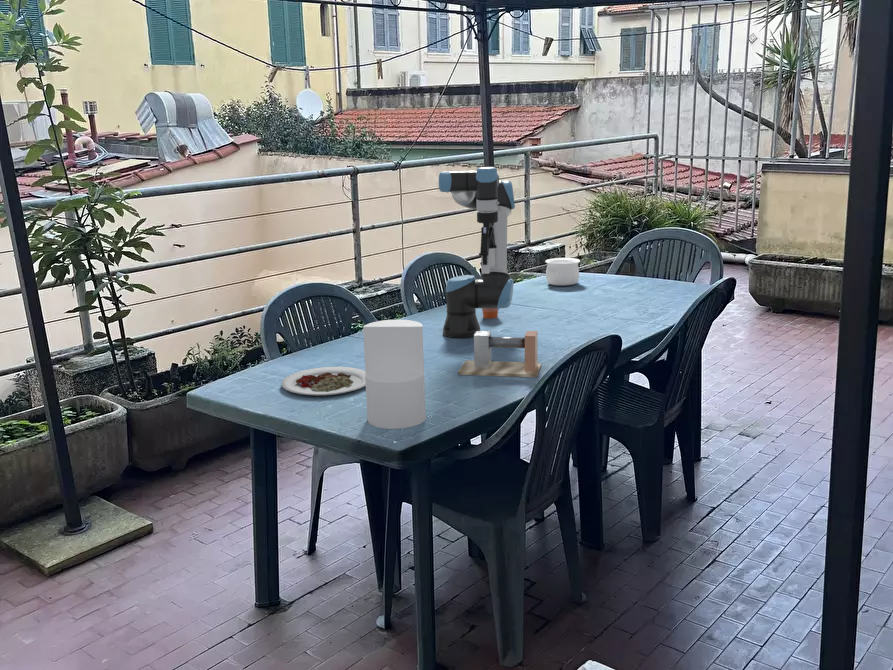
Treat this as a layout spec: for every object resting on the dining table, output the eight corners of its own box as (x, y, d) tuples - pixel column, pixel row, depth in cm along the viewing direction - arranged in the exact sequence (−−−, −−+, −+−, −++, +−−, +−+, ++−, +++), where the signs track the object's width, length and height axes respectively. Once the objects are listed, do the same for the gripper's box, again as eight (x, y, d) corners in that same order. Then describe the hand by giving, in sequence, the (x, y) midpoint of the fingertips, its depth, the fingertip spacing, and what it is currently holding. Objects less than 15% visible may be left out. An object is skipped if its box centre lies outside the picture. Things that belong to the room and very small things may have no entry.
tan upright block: (524, 371, 296) (524, 335, 293) (527, 365, 302) (527, 330, 299) (535, 371, 295) (535, 336, 292) (537, 365, 301) (537, 331, 298)
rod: (480, 348, 299) (480, 337, 298) (482, 345, 302) (482, 335, 301) (532, 349, 295) (532, 339, 294) (533, 346, 298) (533, 336, 297)
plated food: (380, 393, 281) (380, 383, 280) (287, 404, 273) (286, 394, 272) (362, 368, 309) (362, 359, 308) (277, 377, 301) (276, 368, 300)
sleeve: (474, 368, 300) (473, 335, 297) (477, 363, 305) (476, 330, 302) (488, 369, 299) (488, 335, 296) (491, 364, 304) (491, 331, 301)
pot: (565, 290, 428) (565, 265, 425) (536, 286, 439) (536, 262, 436) (588, 282, 445) (588, 259, 442) (559, 279, 455) (559, 256, 452)
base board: (458, 374, 297) (458, 371, 297) (465, 362, 311) (465, 360, 310) (536, 377, 292) (536, 374, 291) (541, 365, 305) (541, 362, 305)
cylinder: (373, 408, 266) (368, 319, 259) (429, 408, 264) (425, 319, 257) (362, 428, 249) (357, 334, 242) (422, 429, 248) (418, 334, 241)
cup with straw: (490, 320, 371) (489, 279, 366) (475, 317, 378) (474, 276, 373) (505, 317, 377) (504, 276, 372) (490, 313, 383) (489, 273, 379)
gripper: (492, 216, 298) (493, 276, 304) (502, 206, 321) (503, 263, 327) (471, 216, 299) (472, 276, 305) (482, 206, 323) (483, 262, 329)
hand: (488, 269), depth 316 cm, fingers open, 13 cm apart
